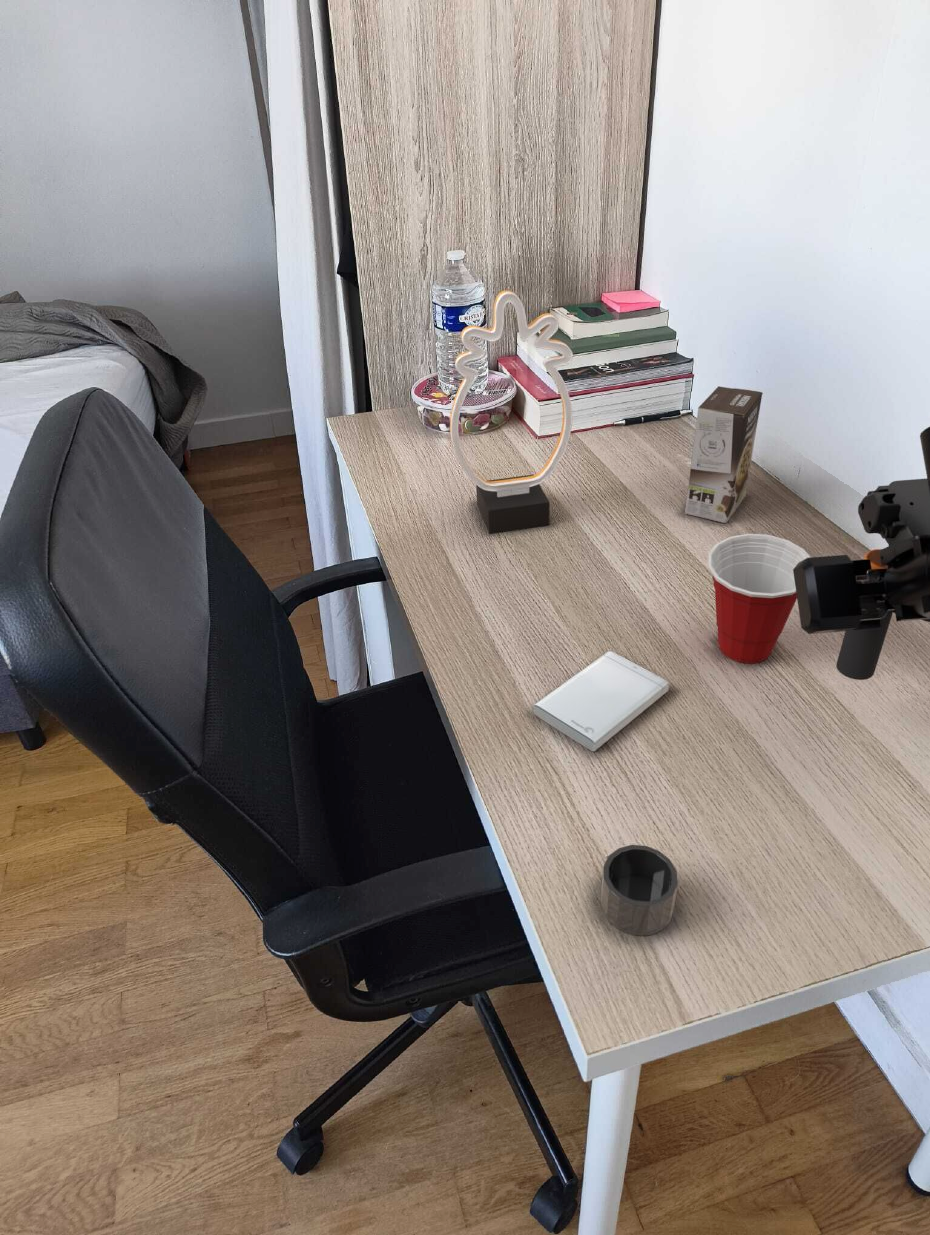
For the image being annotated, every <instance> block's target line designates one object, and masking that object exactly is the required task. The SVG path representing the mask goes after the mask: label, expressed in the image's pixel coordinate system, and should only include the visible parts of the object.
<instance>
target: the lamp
mask: <svg viewBox="0 0 930 1235" xmlns="http://www.w3.org/2000/svg"><path fill="white" fill-rule="evenodd" d="M509 303H510V304H512V306H513V308H514V312H515V316H516V323H517V328H518V329H517V330H518V335H519V339H520V341H522V342H523V343H524V342H528V341H529V340H530V339H532V338H533V337H534V336H535V335H537V333H539V334H538V337H537V338H536V339H535V340H534V342H533V346H534V347H535V348H536V349H541V350H547V351H552V352H555V353H559V354H560V355H554V356H550V357H548V358H546V359H544V360H542V365H543V367H544V368H545V370H546V371H547V373H548V375H549V376H550V377H551V379H552V380H553V382H554V384H555V386H556V388H557V391H558V393H559V396H560V400H561V405H562V424H561V428H560V429H561V430H560V434H559V438H558V439H557V443H556V445H555V447H554V449H553V451H552V453H551V455H550V457H549V459H548V460H547V462H546V463H545V464H544V466H543V467H542V468H541V469H540V470H539V471H538V473H535V474H526V475H520V476H512V477H511V476H510V477H505V478H504V477H503V478H495V479H489V480H485V479H483V478H482V477H481V476H479V475H478V474H477V472H476V471H475V470H474V469H473V468H472V466H471V465H470V463H469V461H468V460H467V458H466V456H465V455H464V452H463V449H462V445H461V442H460V436H459V424H460V422H459V421H460V415H461V412H462V411H461V410H462V407H463V404H464V402H465V399H466V397H467V395H468V393H469V391H470V389H471V388H472V386H473V385H474V383H475V382H476V380H477V379H478V378H479V375H480V373H479V371H478V370H477V369H476V368H473V367H470V366H468V365H465V364H467V363H469V362H472V361H476V360H477V361H478V360H481V359H483V358H484V357H486V356H485V355H486V352H485V350H484V349H483V348H482V347H481V346H480V345H478V344H477V343H475V342H474V341H473V340H472V339H471V338H473V337H474V338H478V339H481V340H484V341H487V342H491V343H494V342H497V341H499V340H500V339H501V338H502V335H503V331H504V325H505V309H506V306H507V304H509ZM559 326H560V325H559V320H558V319H557V317H556V316H555V315H553V313H549V312H546V313H543V314H540V315H539V316H537V317H536V318H535V319H533V321H532V322H530V323H528V322H527V315H526V310H525V307H524V305H523V302H522V301H521V299H520V298H519V296H518V295H517V294H516V293H515V292H513V291H512V290H502V291H500V292H499V294H498V295H497V296H496V298H495V300H494V303H493V324H492V327H491V328H485V327H482V326H479V325H468V326H465V327H464V328H463V329H462V331H461V333H460V340H461V342H462V344H463V346H464V348H465V349H466V350H467V351H463V352H460V353H459V354H458V355H457V356H456V358H455V360H454V361H455V363H454V367H455V370H456V371H457V373H458V374H459V375H461V376H462V377H463V379H462V381H461V383H460V385H459V387H458V389H457V391H456V394H455V396H454V399H453V402H452V406H451V410H450V417H449V433H450V434H449V435H450V439H451V440H450V441H451V444H452V448H453V451H454V453H455V456H456V458H457V461H458V462H459V464H460V466H461V468H462V469H463V471H464V472H465V474H466V476H467V477H468V478H469V480H471V481H472V482H473V484H475V488H476V505H477V508H478V510H479V512H480V515H481V518H482V520H483V522H484V524H485V527H486V530H487V532H488V534H489V535H490V534H497V533H504V532H512V531H518V530H519V531H520V530H525V529H531V528H532V529H533V528H540V527H541V528H542V527H546V526H550V501H549V498H548V497H547V495H546V494H545V492H544V490H543V488H542V486H541V485H540V484H542V483H544V482H545V481H546V480H547V479H548V478H549V477H550V476H551V475H552V474H553V473H554V471H555V470H556V468H557V467H558V465H559V464H560V461H561V460H562V458H563V456H564V454H565V452H566V449H567V447H568V445H569V441H570V437H571V433H572V428H573V406H572V401H571V397H570V393H569V391H568V387H567V385H566V383H565V380H564V379H563V377H562V375H561V374H560V372H559V371H558V369H557V368H558V367H564V366H568V365H569V364H570V363H572V361H573V359H574V353H573V351H572V349H571V347H569V346H568V344H566V343H565V342H563V341H561V340H559V339H551V338H552V336H554V335H555V334H556V333H557V332H558V330H559Z"/></svg>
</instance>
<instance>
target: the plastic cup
mask: <svg viewBox="0 0 930 1235" xmlns="http://www.w3.org/2000/svg"><path fill="white" fill-rule="evenodd" d="M811 557H812V556H810V554H808V553H807V552H806V550H805V549H804V548H802V547H801V546H799V545H797V544H796V543H794V542H792V541H790V540H788V539H786V538H782V537H778V536H774V535H771V534H765V533H764V534H763V533H744V534H738V535H732V536H729V537H727V538H725V539H723V540H721V541H718V542H717V543H715V545H713V547H712V548H711V550H710V551H708V553H707V568H708V570H709V572H710V573H711V575H712V581H713V588H714V597H715V619H716V626H717V644H718V648H719V651H721V653H722V654H723V655H724V656H725V657H727V658H728V659H729V660H732V661H735V662H738V663H739V664H740V663H741V664H757V663H761V662H764V661H765V660H768V658H769V656H771V654H772V652H773V651H774V649H775V646H776V644H777V643H778V639H779V637H780V636H781V634H782V632H783V631H784V628H785V626H786V624H787V622H788V619H789V617H790V615H791V612H792V611H793V608H794V606H795V604H796V602H797V594H796V587H795V580H794V573H793V569H794V568H795V566H796V565H797V564H798V563H799V562H801V561H802V560H804V559H806V558H811Z"/></svg>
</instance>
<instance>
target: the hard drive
mask: <svg viewBox="0 0 930 1235" xmlns="http://www.w3.org/2000/svg"><path fill="white" fill-rule="evenodd" d="M669 689H670V683H669V681H667V679H664V678H663V677H661V676H660V675H657V674H655V673H653V672H652V671H650V670H648V669H646V668H644V667H642V666H641V665H639V664H636V663H634V662H632V661H631V660H629V659H627V658H625V657H623V656H621V655H620V654H617V653H616V652H614V651H611V650H608V651H607V652H606V653H604V654H602V655H601V656H599V657H598V658H596V659H595V660H594V661H592V662H591V663H590V664H589V665H587V666H586V667H584V668H583V669H582V670H580V671H578V672H577V673H576V674H575V675H573V676H571V677H570V678H569V679H567V680H566V681H565V682H563V683H562V684H561V685H559V686H558V687H557V688H555V689H554V690H553V691H551V692H550V693H548V694H547V695H545V696H544V697H543V698H541V699H540V700H539V701H537V702H536V703H534V704H533V714H534V715H535V716H536V717H538V718H539V719H541V720H543V721H544V722H546V723H547V724H548V725H550V726H552V727H554V728H555V729H556V730H558V731H560V732H561V733H563V734H564V735H566V736H567V737H569V738H570V739H572V740H573V741H575V742H576V743H578V744H580V745H582V746H583V747H584V748H586V749H587V750H589V751H592V752H596V751H597V750H598V749H599V748H600V747H602V746H603V745H604V744H605V743H607V742H608V741H609V740H610V739H611V738H612V737H614V736H615V735H616V734H618V733H619V732H620V731H621V730H622V729H624V728H625V727H626V726H627V725H628V724H630V723H631V722H632V721H633V720H635V719H636V718H637V717H639V716H640V715H641V714H642V713H643V712H645V711H646V710H647V709H648V708H649V707H650V706H652V705H653V704H654V703H655V702H657V701H658V700H659V699H661V698H662V697H663V696H664V695H665V694H666V693H667V692H669Z"/></svg>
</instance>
